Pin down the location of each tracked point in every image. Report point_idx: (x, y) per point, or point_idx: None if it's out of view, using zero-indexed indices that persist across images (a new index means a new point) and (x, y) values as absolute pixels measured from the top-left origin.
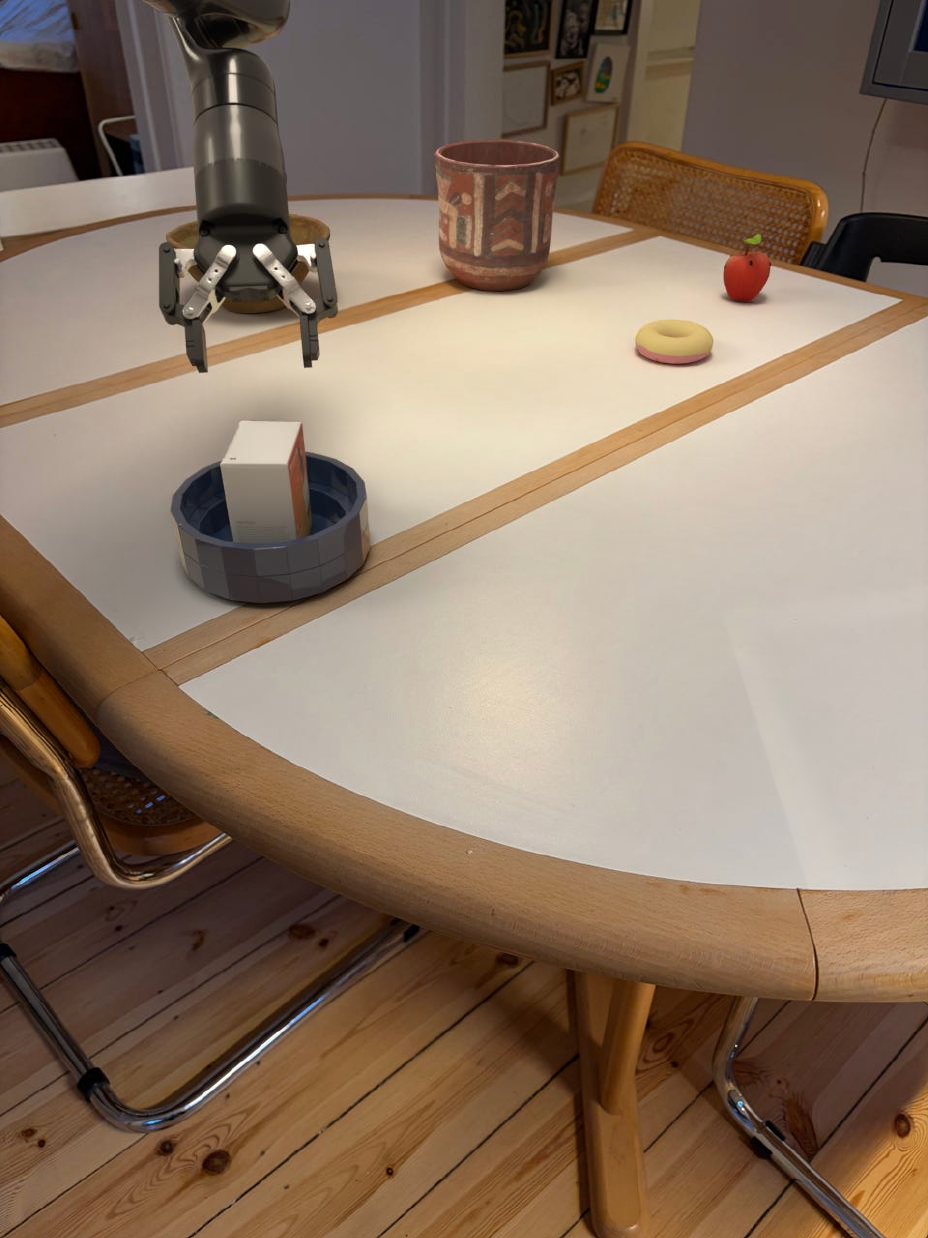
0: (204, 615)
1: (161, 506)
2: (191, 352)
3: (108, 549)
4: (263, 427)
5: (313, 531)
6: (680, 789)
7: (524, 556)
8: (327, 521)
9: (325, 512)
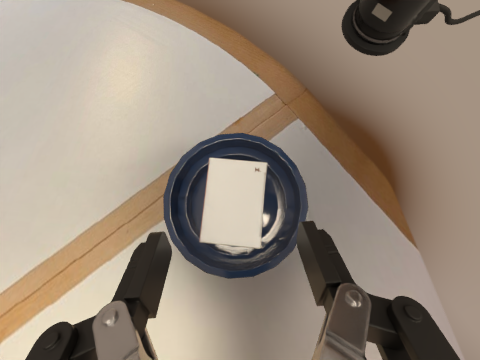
0: None
1: None
2: (323, 238)
3: (343, 214)
4: (235, 230)
5: None
6: (66, 25)
7: (85, 190)
8: None
9: None
